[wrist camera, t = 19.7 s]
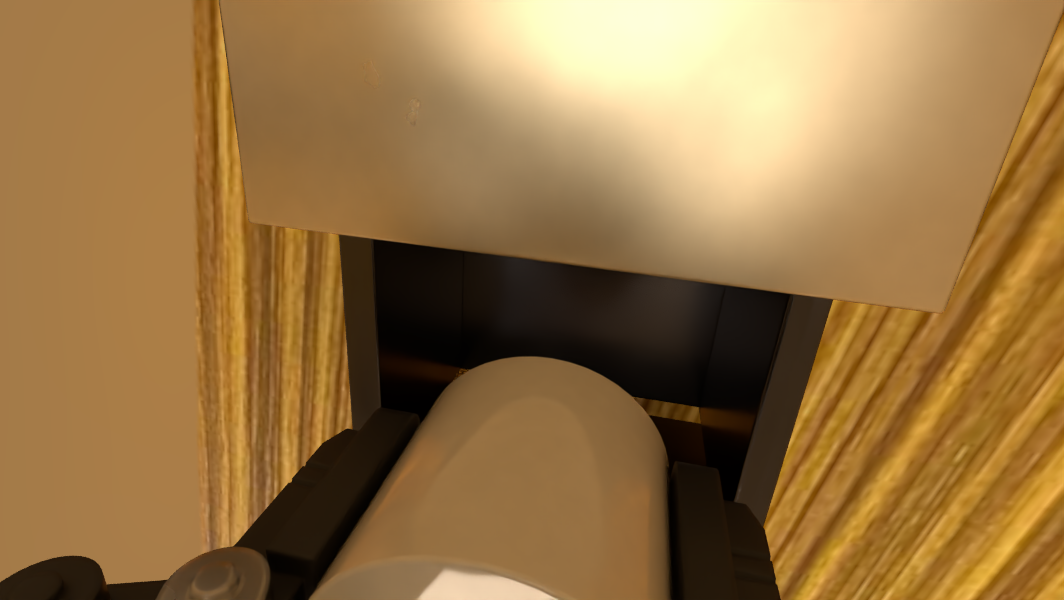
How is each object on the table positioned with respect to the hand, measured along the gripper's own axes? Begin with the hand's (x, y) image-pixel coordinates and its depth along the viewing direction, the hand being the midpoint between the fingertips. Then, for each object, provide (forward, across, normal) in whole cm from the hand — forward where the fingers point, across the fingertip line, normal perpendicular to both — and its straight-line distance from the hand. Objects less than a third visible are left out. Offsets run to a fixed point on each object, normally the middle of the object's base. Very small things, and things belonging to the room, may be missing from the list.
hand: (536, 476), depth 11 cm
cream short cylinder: (0, 0, 0) cm, 0 cm away
